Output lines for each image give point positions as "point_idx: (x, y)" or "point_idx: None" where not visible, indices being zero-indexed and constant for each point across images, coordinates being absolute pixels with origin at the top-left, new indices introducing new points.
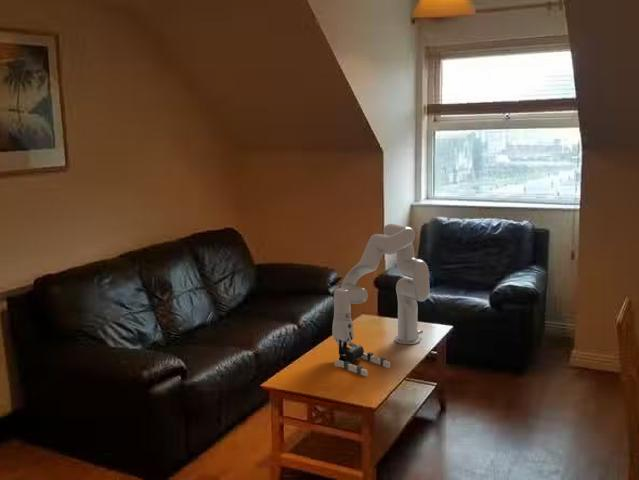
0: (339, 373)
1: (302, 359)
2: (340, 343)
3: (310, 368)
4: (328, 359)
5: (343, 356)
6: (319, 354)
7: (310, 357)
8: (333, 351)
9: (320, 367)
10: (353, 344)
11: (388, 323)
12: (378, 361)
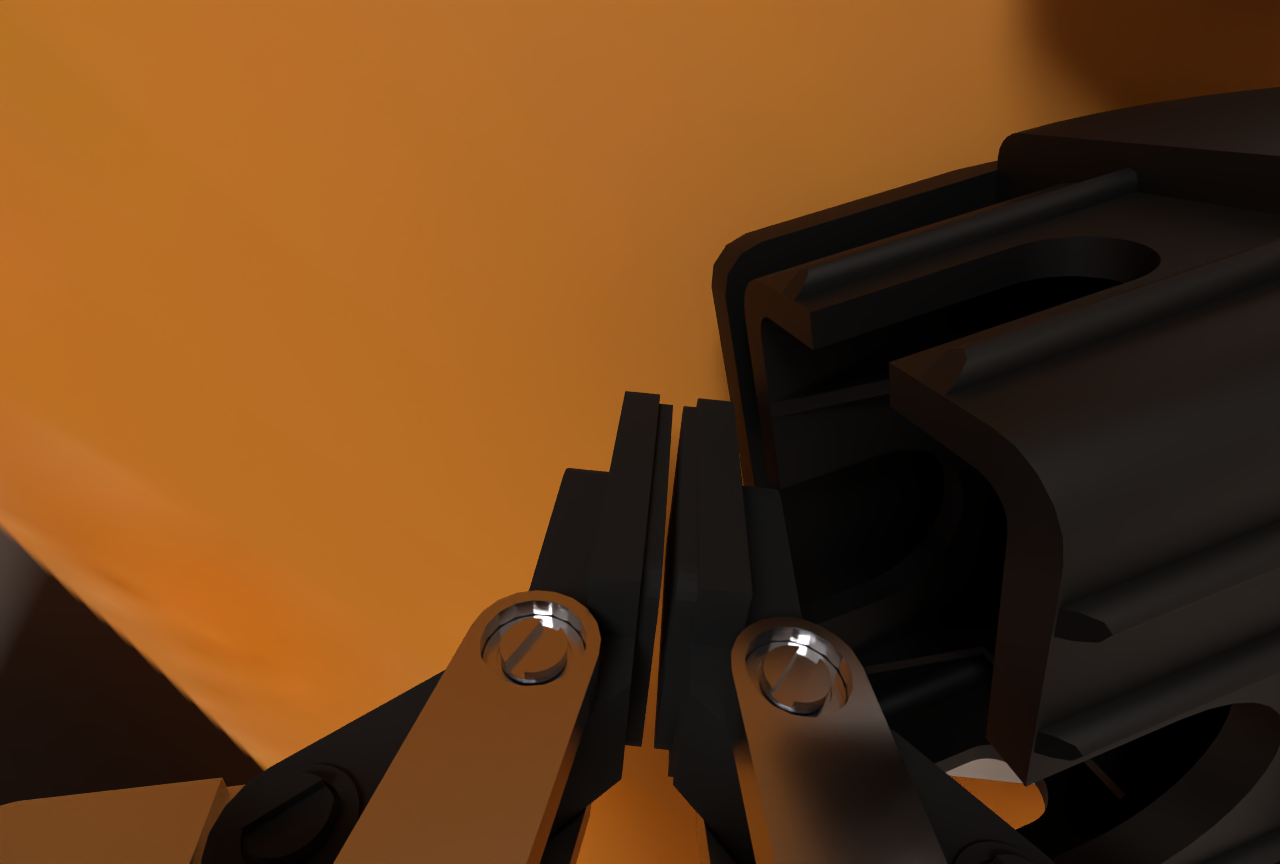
0: (1031, 812)
1: (239, 737)
2: (571, 803)
3: (585, 848)
4: (481, 564)
5: (947, 750)
6: (141, 487)
7: (216, 648)
8: (72, 139)
9: (657, 794)
10: (1258, 562)
11: None
12: None
